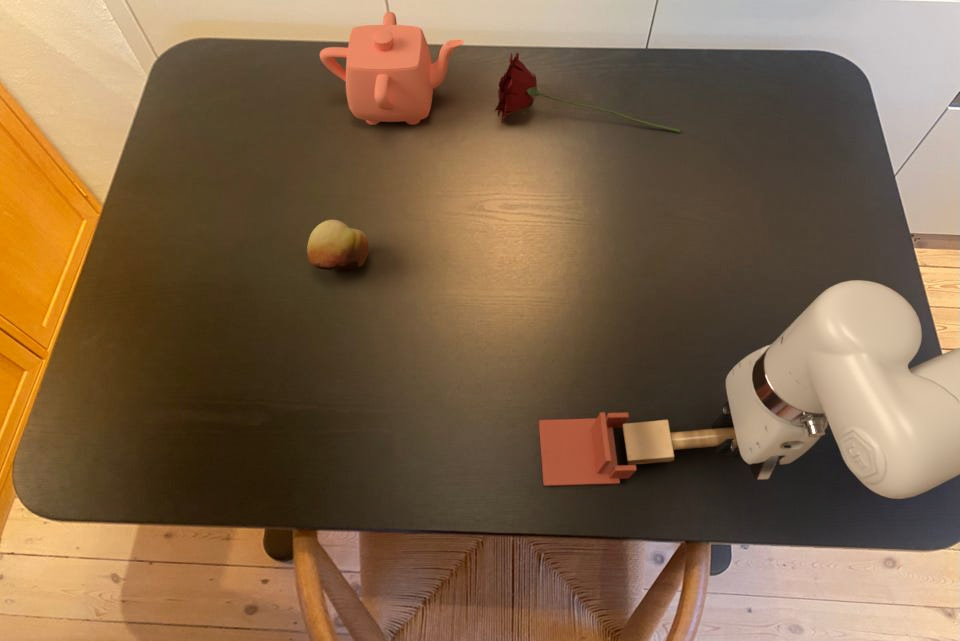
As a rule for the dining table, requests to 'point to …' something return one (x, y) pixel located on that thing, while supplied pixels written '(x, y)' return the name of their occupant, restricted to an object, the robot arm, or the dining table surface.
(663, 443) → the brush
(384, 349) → the dining table surface
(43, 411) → the dining table surface
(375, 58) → the teapot
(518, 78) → the flower
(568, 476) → the brush stand
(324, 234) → the fruit
